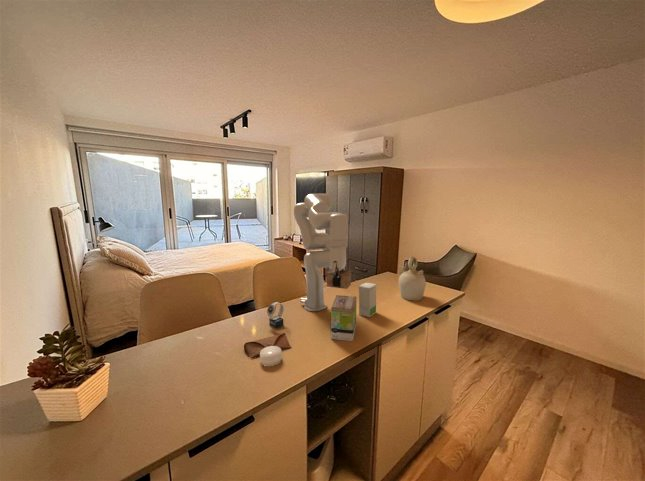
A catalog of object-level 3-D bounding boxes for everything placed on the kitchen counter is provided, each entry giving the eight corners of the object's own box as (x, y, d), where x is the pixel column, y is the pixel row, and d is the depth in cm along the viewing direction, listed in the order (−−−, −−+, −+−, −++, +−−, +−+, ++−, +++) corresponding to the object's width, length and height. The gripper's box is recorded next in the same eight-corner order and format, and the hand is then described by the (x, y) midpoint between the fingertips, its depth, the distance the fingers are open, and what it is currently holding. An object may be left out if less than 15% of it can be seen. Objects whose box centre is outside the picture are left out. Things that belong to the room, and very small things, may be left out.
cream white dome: (256, 364, 96) (255, 356, 96) (267, 352, 104) (266, 344, 103) (275, 368, 93) (274, 360, 93) (285, 356, 101) (285, 347, 100)
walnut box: (326, 286, 112) (326, 272, 111) (331, 282, 118) (331, 268, 117) (347, 289, 109) (347, 274, 108) (351, 284, 115) (351, 270, 114)
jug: (392, 295, 161) (394, 255, 157) (412, 291, 168) (413, 253, 164) (410, 304, 148) (412, 261, 144) (430, 299, 154) (433, 257, 150)
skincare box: (369, 318, 131) (369, 288, 129) (357, 314, 135) (357, 285, 133) (376, 312, 138) (377, 283, 136) (365, 309, 142) (365, 281, 139)
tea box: (354, 341, 110) (354, 308, 108) (330, 339, 112) (330, 307, 110) (356, 324, 125) (356, 295, 122) (335, 323, 127) (335, 294, 124)
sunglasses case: (248, 360, 98) (245, 342, 100) (245, 361, 104) (242, 343, 106) (293, 347, 106) (289, 330, 109) (288, 348, 112) (284, 332, 114)
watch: (266, 325, 125) (264, 304, 123) (279, 320, 131) (278, 299, 129) (272, 329, 121) (271, 307, 120) (286, 323, 127) (285, 302, 125)
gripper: (336, 239, 120) (336, 277, 123) (323, 246, 104) (324, 289, 107) (352, 240, 117) (352, 278, 120) (341, 247, 101) (341, 291, 104)
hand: (338, 283), depth 113 cm, fingers closed on walnut box, 6 cm apart
